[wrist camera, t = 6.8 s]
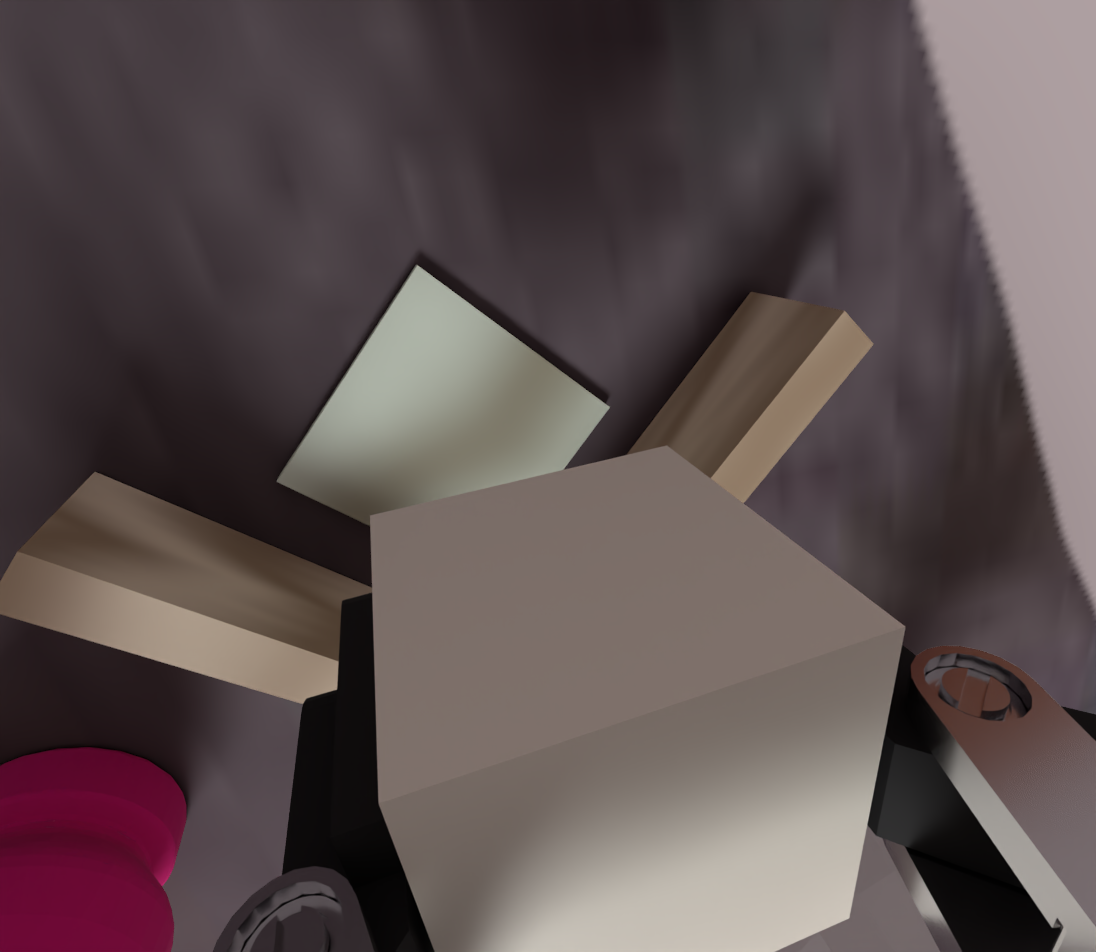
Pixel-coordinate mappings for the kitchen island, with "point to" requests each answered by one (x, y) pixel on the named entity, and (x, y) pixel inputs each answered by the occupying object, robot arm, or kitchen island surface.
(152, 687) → the kitchen island surface
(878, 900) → the soap bottle
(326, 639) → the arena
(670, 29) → the kitchen island surface
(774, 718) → the cube
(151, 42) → the kitchen island surface
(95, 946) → the pepper mill
